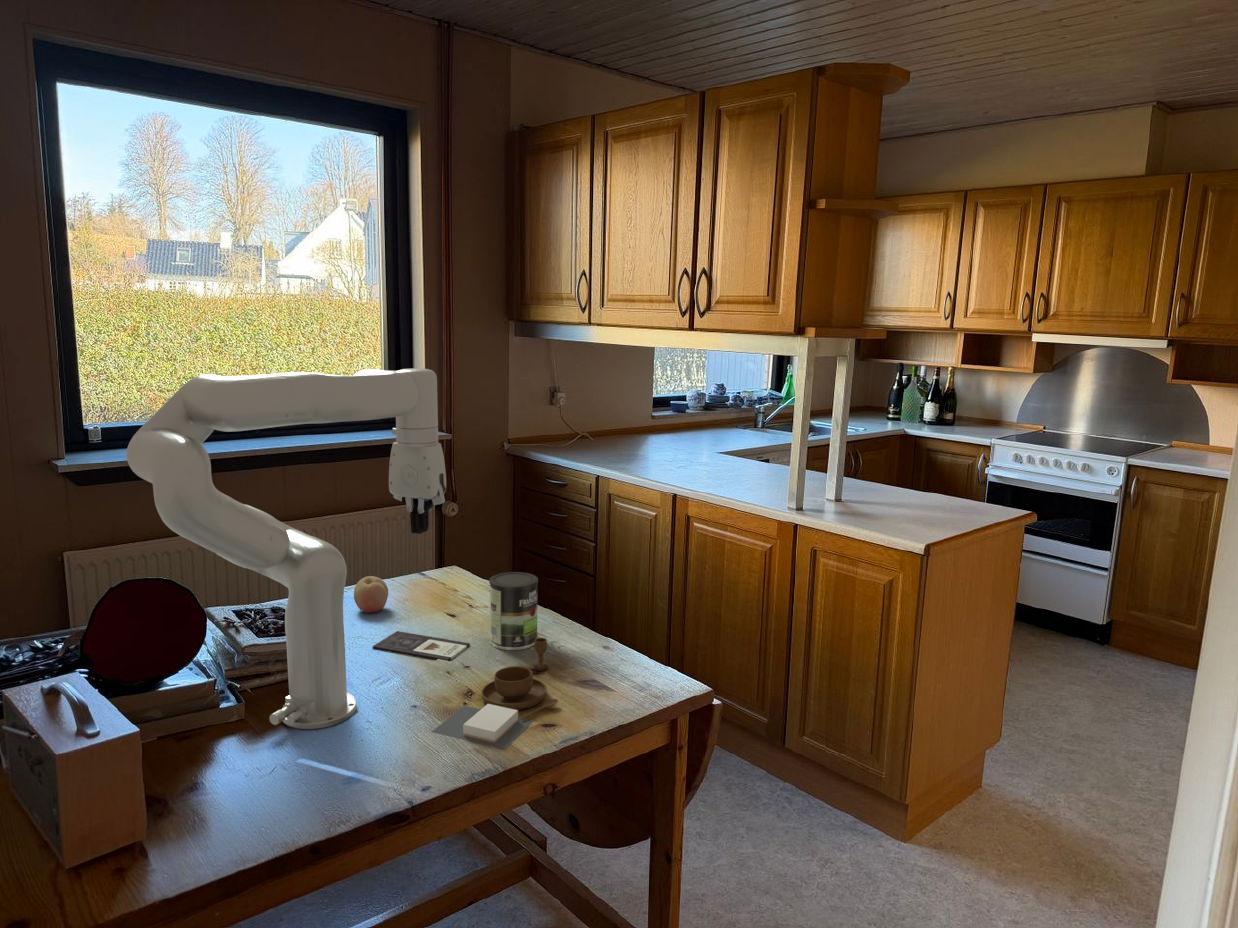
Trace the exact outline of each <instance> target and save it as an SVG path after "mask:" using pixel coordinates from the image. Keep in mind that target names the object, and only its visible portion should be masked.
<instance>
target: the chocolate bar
mask: <svg viewBox="0 0 1238 928" xmlns="http://www.w3.org/2000/svg"><path fill="white" fill-rule="evenodd" d="M469 647H471V646H470V643H469V642H465V641H464V642H463V641H458V640H453V639H446V638H441V637H440V638H439V637H434V636H429V635H422V634H416V633H412V632H411V633H410V632H406V631H405V632H404V631H399V630H397V631H395V632H393V633H392V634H390V635H388V636H387V637H385V638H384V639H382V640H380V641H379V642H377V643H375V644H374V645H373V646H372V649H373V650H378V651H383V652H388V653H395V654H401V655H403V656H411V657H416V658H422V659H427V660H433V661H437V660H441V661H445V662H446V661H447V662H451V661H452V660H453V659H454V658H456V657H457V656H458V655H459V654H461V653H462V652H464V651H465V650H466V649H467V648H469Z"/></svg>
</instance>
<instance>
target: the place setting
mask: <svg viewBox="0 0 1238 928" xmlns="http://www.w3.org/2000/svg"><path fill="white" fill-rule="evenodd" d="M547 649H548V641H547V638H544V637H537V639H535V645H534V651H535V653H536V654H538V660H537V661H538V663H539V664H537V665H534V667H533V668H534V670H536V671H538V672H539V671H540V672H541V671H546V670H549V665H547V664H545V663H544V661H545V660H544V654H545V653H546V652H547ZM480 693H481V694H480V695H481V698H482V701H483V702H484V703H485V704H486V705H487V704H492V705H496V706H501V707H505V708H510V709H514V710H518V711H520V710H524V709H528V708H531V707H534V706H536V705H538V704H539V703H541V702H542V701H543V700H544V698H545V697H546V695H547V685H546V684H545V683H544V682H543V681H541V680H540V679H537V678H534V674H533V671H532V670H531V669H530V668H528V667H524V666H508V667H504V668H501V669H499V670H497V671H496V672H495V673H494V680H492V681H490V682H489V683H486V685H484V686H483V687H482V689H481V691H480ZM557 703H558V699H557V698H553V699H549V700H547V701H545V702H544V703H543V704H542V705H541V706H540V707H538V708H536V709H534V710H532V711H530V712H528V713H526V714H524V715H523V716H521V717H519V718H520V719H526V718H527V717H529V716H531V715H533V714H535V713H536V712H538V711H541V710H542V709H549V708H552V707H554V706H555V705H557Z"/></svg>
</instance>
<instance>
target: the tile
mask: <svg viewBox="0 0 1238 928" xmlns="http://www.w3.org/2000/svg"><path fill="white" fill-rule="evenodd" d="M480 709H481V710H480V711H479V712H477V713H476V714H475V715H474V716H473V717H471V718H470V719H469V720H468V721H467V722H466V723H464V724H463V735H464V736H468V737H472V738H476V739H480V740H484V741H489V742H493V743H495V742H496V741H497V740H498V739H500V738H501V737H502V736H503V735H504V734H505V733H506V732H507V731H508V730H509V729H510V728H511V727H512V726H513V725H514V724H515V723H516V722H517V721H518V718H519V710H514V709H510V708H505V707H501V706H496V705H492V704H486V705H485V706H483V707H482V708H480Z"/></svg>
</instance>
